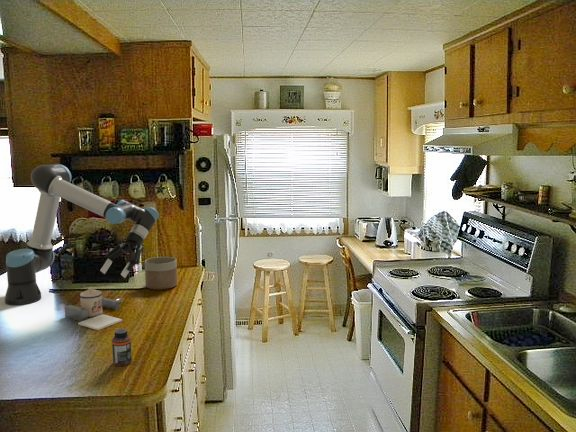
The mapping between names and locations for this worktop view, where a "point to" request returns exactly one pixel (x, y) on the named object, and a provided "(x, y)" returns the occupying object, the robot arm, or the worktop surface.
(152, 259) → the planter
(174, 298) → the worktop surface
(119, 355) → the supplement bottle
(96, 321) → the tile
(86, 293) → the teacup with lid
